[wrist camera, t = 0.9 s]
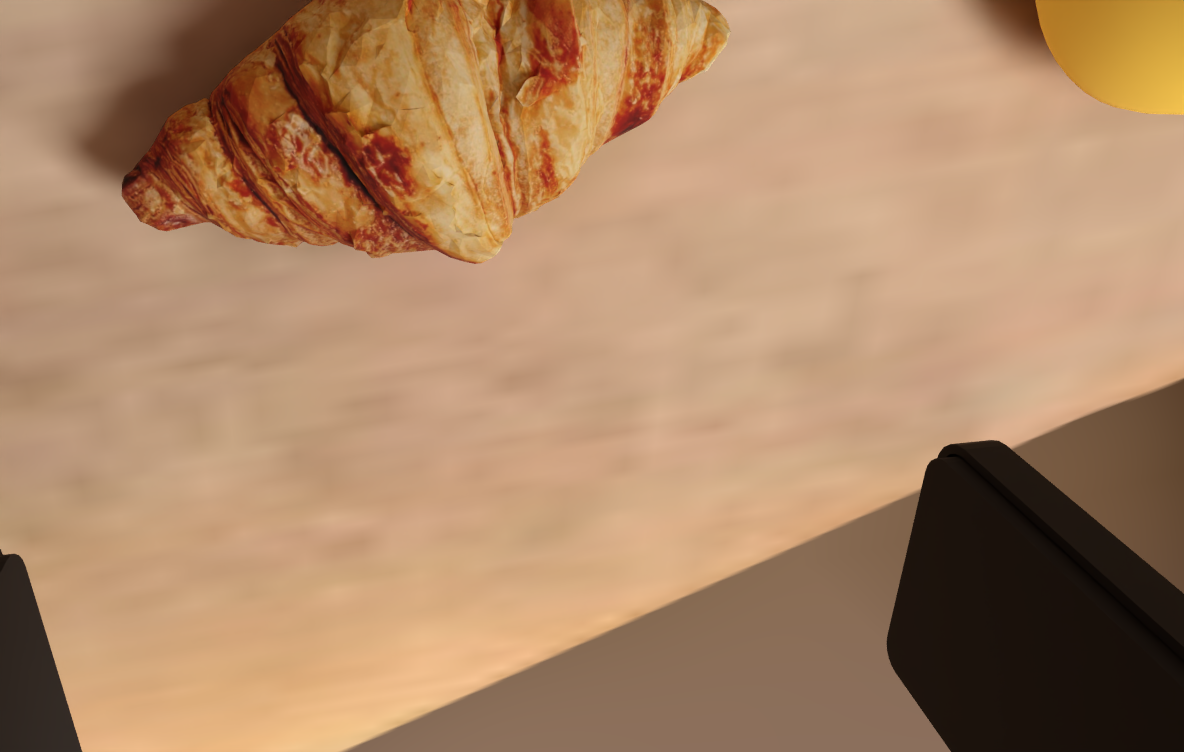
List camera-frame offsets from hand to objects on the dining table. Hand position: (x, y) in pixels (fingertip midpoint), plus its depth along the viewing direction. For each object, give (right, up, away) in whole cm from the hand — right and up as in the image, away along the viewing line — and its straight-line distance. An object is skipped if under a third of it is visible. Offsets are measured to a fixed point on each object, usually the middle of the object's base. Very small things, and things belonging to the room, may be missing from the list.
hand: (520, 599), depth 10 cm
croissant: (-5, +12, +24) cm, 27 cm away
